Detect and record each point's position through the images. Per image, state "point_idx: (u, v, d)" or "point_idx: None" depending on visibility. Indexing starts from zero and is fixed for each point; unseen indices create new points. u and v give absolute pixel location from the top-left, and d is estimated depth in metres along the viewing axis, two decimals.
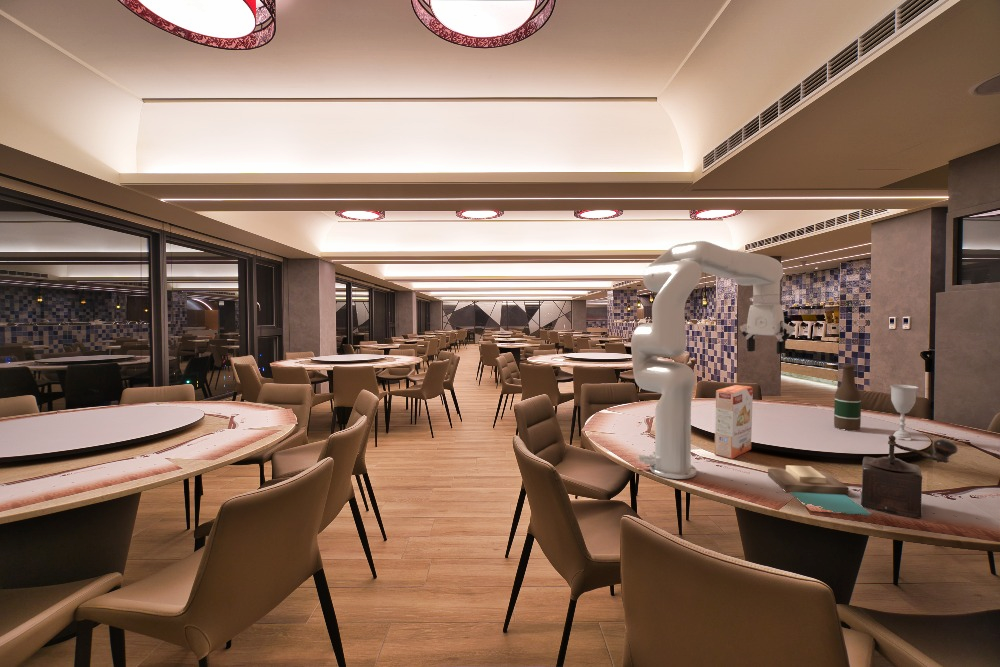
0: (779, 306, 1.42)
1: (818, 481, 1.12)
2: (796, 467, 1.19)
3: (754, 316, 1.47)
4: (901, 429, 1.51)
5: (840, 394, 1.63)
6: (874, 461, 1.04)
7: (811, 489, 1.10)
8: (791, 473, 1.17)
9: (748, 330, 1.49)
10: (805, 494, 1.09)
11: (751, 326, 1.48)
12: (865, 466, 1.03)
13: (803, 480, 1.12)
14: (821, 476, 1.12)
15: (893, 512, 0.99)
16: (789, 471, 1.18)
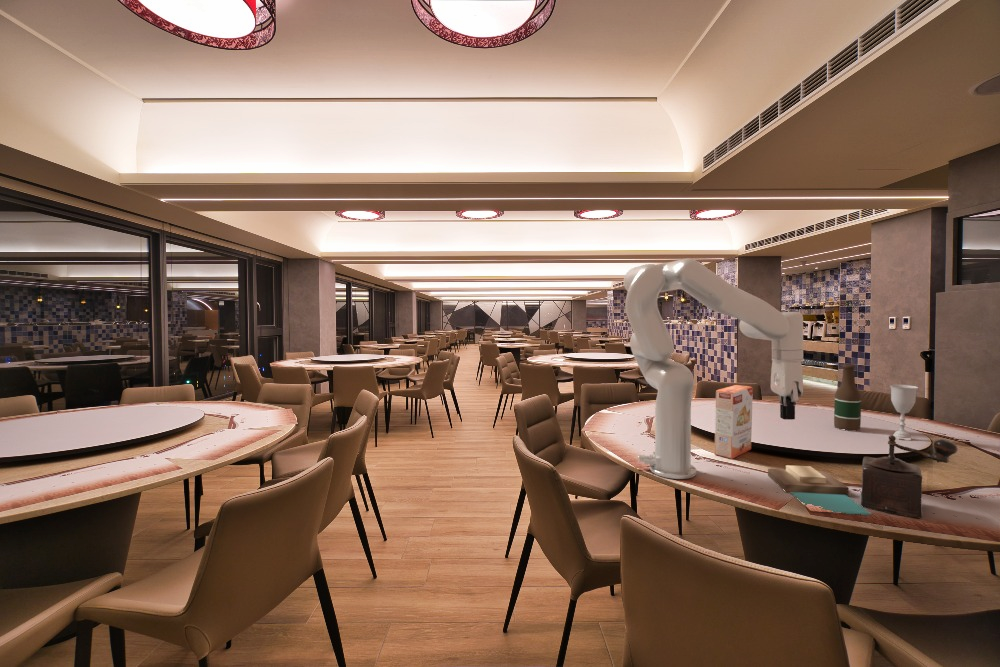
0: (793, 364, 1.22)
1: (818, 481, 1.12)
2: (796, 467, 1.19)
3: (773, 372, 1.29)
4: (901, 429, 1.51)
5: (840, 394, 1.63)
6: (874, 461, 1.04)
7: (811, 489, 1.10)
8: (791, 473, 1.17)
9: (771, 386, 1.31)
10: (805, 494, 1.09)
11: (772, 383, 1.30)
12: (865, 466, 1.03)
13: (803, 480, 1.12)
14: (821, 476, 1.12)
15: (893, 512, 0.99)
16: (789, 471, 1.18)
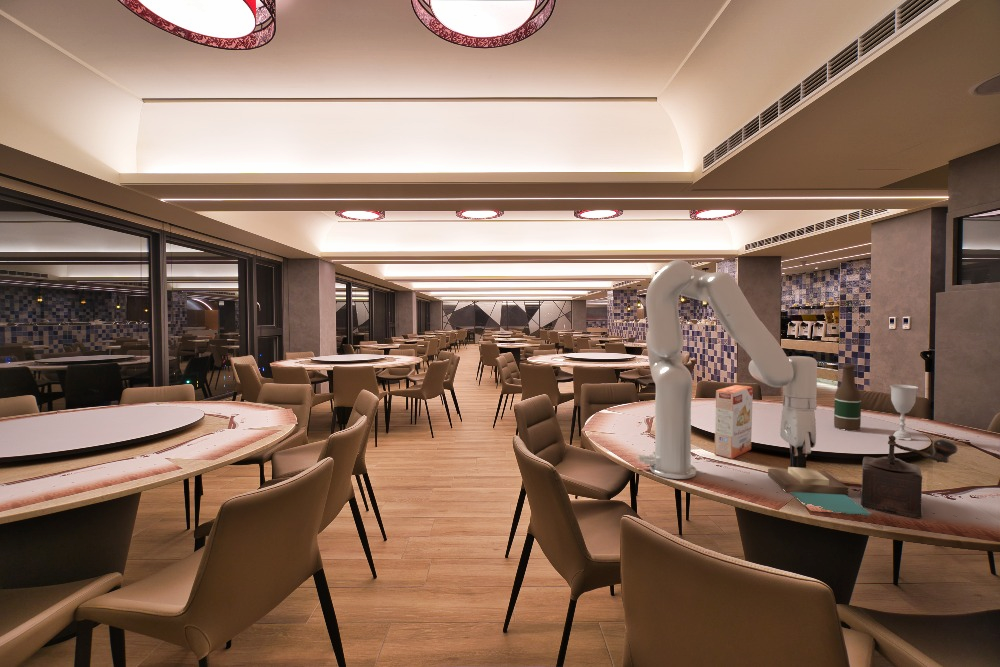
0: (806, 413, 1.14)
1: (821, 483, 1.10)
2: (798, 468, 1.17)
3: (784, 419, 1.22)
4: (901, 429, 1.51)
5: (840, 394, 1.63)
6: (874, 461, 1.04)
7: (811, 489, 1.10)
8: (793, 475, 1.16)
9: (780, 433, 1.24)
10: (805, 494, 1.09)
11: (782, 429, 1.23)
12: (865, 466, 1.03)
13: (806, 482, 1.11)
14: (824, 478, 1.11)
15: (893, 512, 0.99)
16: (791, 473, 1.17)
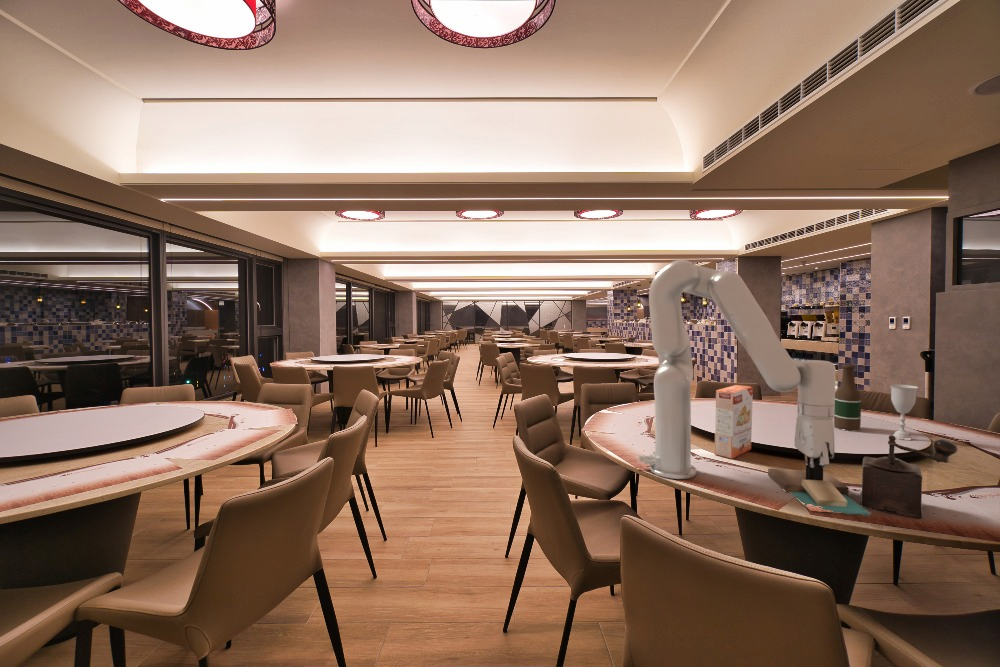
0: (823, 422, 1.06)
1: (839, 504, 1.02)
2: (813, 482, 1.09)
3: (798, 427, 1.13)
4: (901, 429, 1.51)
5: (840, 394, 1.63)
6: (874, 461, 1.04)
7: None
8: (808, 491, 1.07)
9: (795, 443, 1.15)
10: (805, 494, 1.09)
11: (796, 439, 1.14)
12: (865, 466, 1.03)
13: (822, 503, 1.03)
14: (842, 499, 1.03)
15: (893, 512, 0.99)
16: (806, 488, 1.09)
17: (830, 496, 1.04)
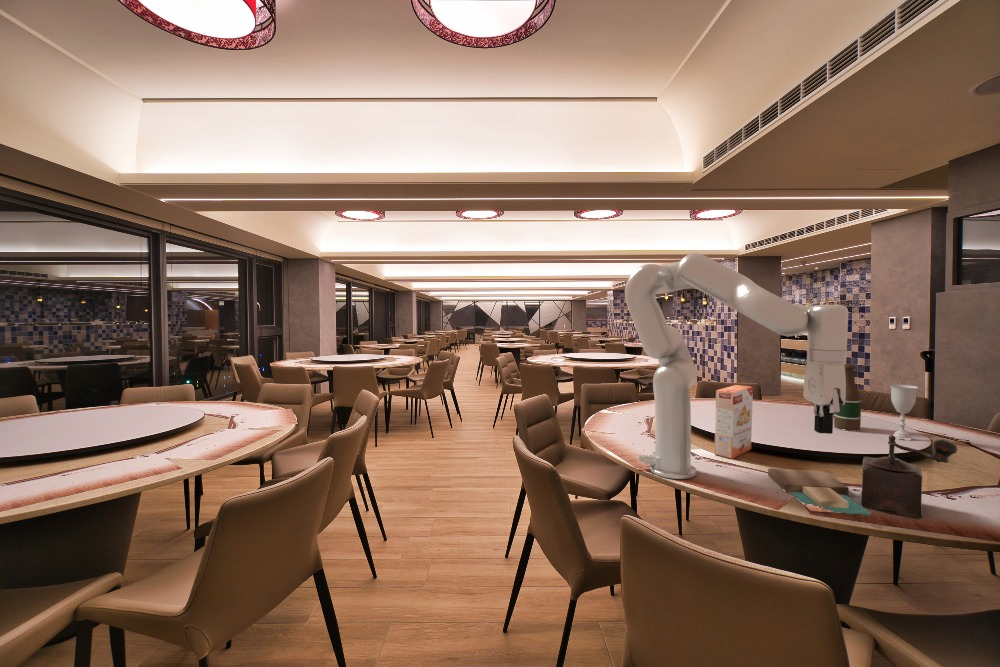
0: (835, 367, 1.01)
1: (840, 506, 1.02)
2: (813, 488, 1.09)
3: (808, 376, 1.08)
4: (901, 429, 1.51)
5: None
6: (874, 461, 1.04)
7: None
8: (809, 496, 1.07)
9: (803, 393, 1.10)
10: None
11: (805, 389, 1.09)
12: (865, 466, 1.03)
13: (823, 504, 1.02)
14: (843, 500, 1.02)
15: (893, 512, 0.99)
16: (807, 493, 1.08)
17: (831, 498, 1.03)
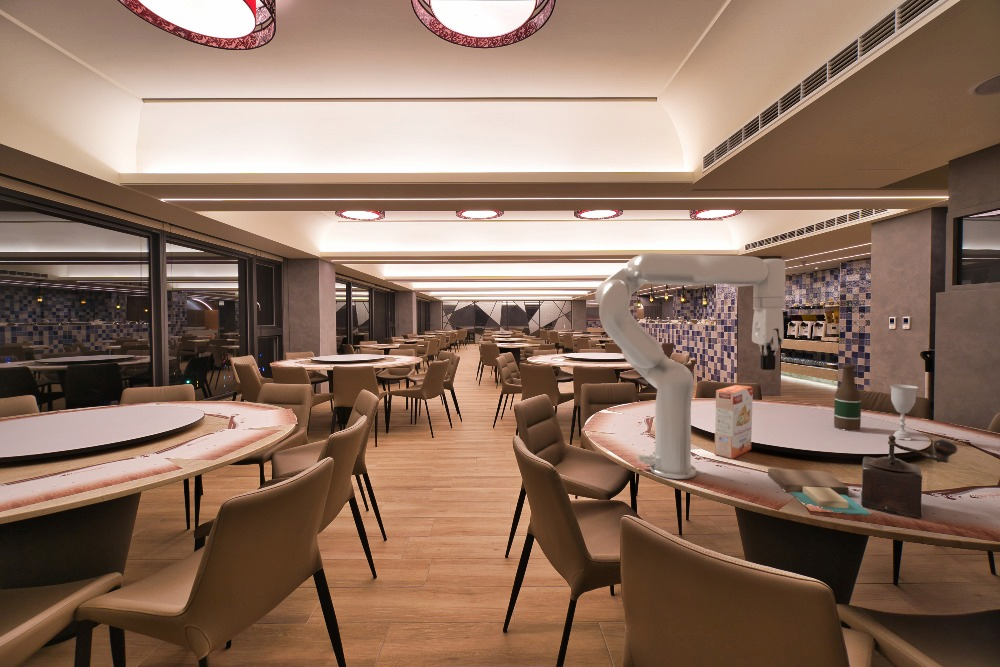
0: (774, 311, 1.19)
1: (840, 506, 1.02)
2: (813, 488, 1.09)
3: (754, 322, 1.26)
4: (901, 429, 1.51)
5: (840, 394, 1.63)
6: (874, 461, 1.04)
7: None
8: (809, 496, 1.07)
9: (752, 338, 1.28)
10: None
11: (753, 333, 1.27)
12: (865, 466, 1.03)
13: (823, 504, 1.02)
14: (843, 500, 1.02)
15: (893, 512, 0.99)
16: (807, 493, 1.08)
17: (831, 498, 1.03)
